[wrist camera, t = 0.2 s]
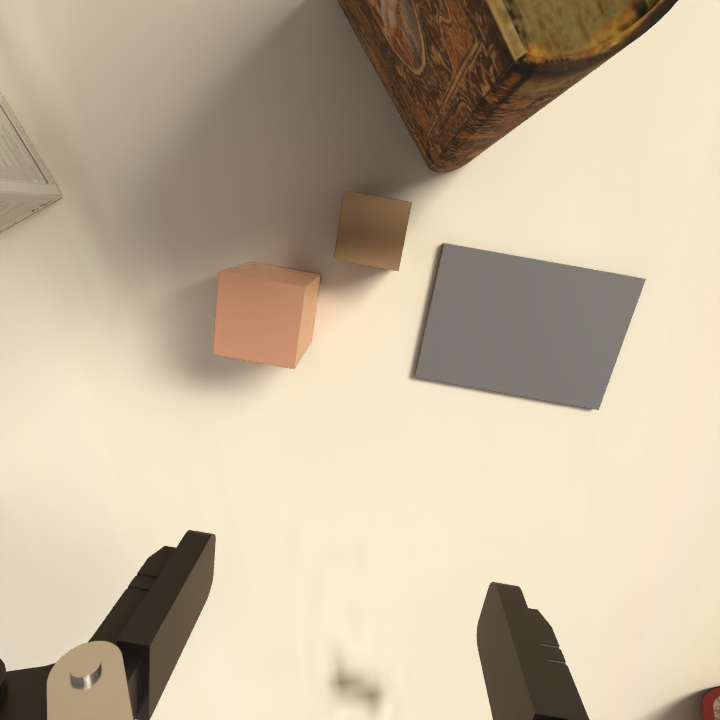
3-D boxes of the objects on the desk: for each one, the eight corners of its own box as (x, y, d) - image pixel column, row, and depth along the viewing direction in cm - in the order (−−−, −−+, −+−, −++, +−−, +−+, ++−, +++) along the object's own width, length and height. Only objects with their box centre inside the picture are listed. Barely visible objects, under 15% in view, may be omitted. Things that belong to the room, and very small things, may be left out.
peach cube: (251, 261, 39) (218, 271, 31) (321, 274, 39) (305, 286, 31) (245, 330, 41) (212, 354, 33) (311, 341, 41) (294, 369, 33)
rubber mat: (443, 243, 38) (444, 243, 37) (641, 278, 38) (645, 279, 37) (414, 375, 41) (415, 377, 41) (595, 407, 41) (598, 409, 41)
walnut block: (349, 194, 37) (344, 190, 32) (408, 205, 37) (411, 202, 32) (340, 255, 39) (333, 259, 34) (397, 265, 39) (398, 271, 34)
